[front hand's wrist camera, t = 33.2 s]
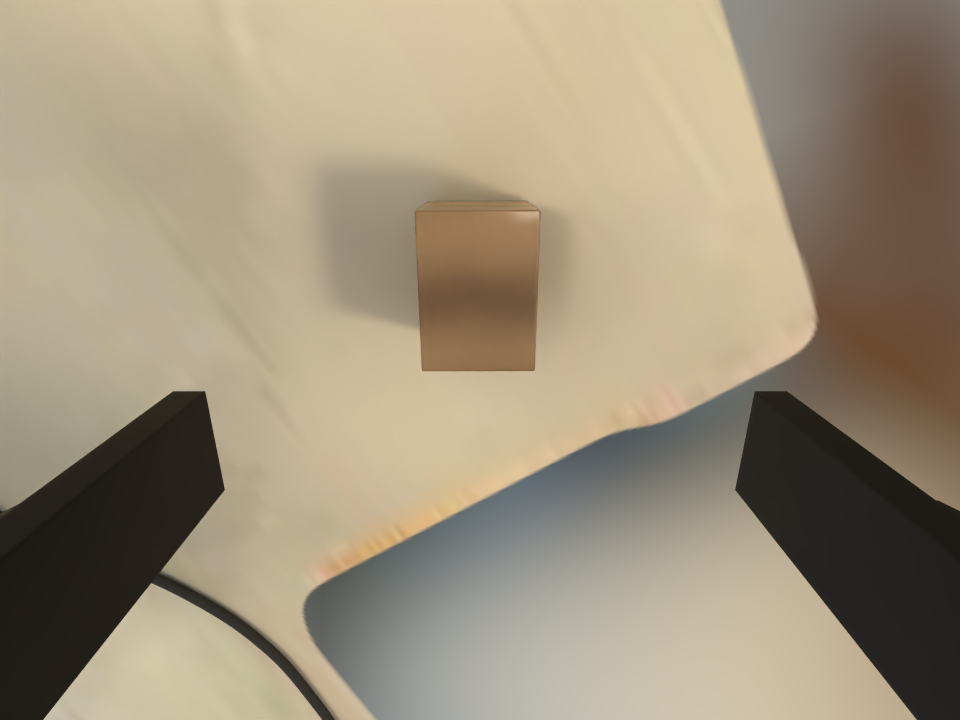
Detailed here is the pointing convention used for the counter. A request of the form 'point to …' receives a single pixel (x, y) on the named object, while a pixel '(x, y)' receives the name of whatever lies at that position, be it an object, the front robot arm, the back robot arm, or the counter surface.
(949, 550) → the front robot arm
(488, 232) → the brown cardboard box
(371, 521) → the counter surface
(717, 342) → the counter surface
